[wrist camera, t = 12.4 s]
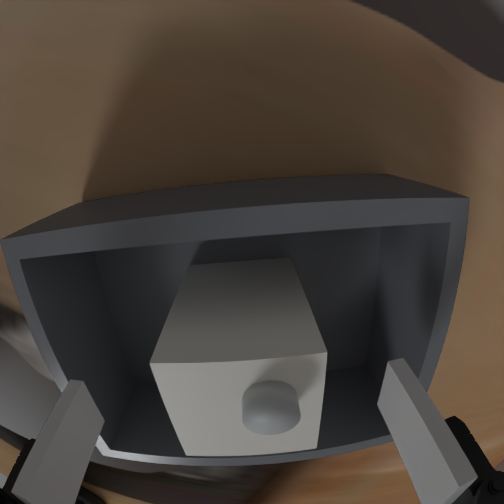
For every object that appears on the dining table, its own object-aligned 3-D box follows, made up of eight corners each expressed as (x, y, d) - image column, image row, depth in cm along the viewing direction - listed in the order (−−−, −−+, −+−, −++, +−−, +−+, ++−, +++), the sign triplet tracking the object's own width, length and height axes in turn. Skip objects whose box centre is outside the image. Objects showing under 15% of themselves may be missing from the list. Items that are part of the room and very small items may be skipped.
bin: (131, 381, 22) (102, 455, 15) (78, 202, 17) (0, 239, 10) (371, 364, 22) (407, 436, 15) (388, 174, 17) (469, 197, 10)
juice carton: (203, 346, 20) (183, 472, 11) (189, 264, 18) (142, 382, 9) (291, 339, 20) (320, 465, 11) (290, 256, 18) (334, 371, 9)
